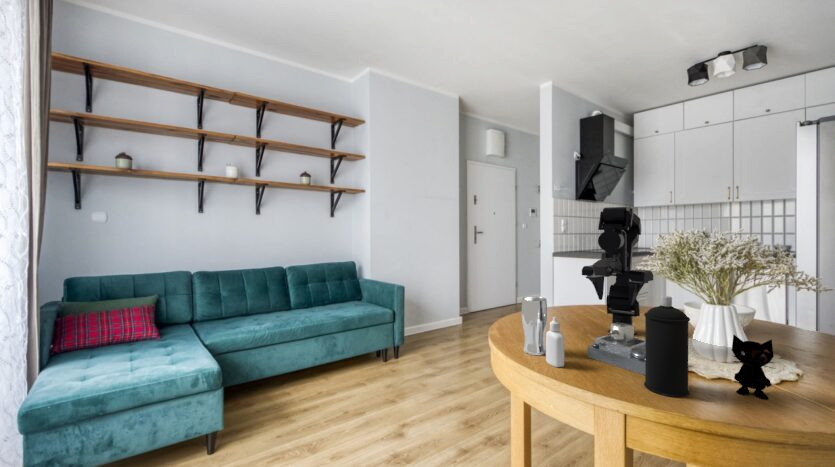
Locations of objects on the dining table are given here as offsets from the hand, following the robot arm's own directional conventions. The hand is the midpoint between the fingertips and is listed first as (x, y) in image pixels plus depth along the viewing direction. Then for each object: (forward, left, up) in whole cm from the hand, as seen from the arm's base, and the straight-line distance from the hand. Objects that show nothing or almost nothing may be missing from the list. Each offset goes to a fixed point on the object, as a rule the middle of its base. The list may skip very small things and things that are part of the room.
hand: (615, 302), depth 112 cm
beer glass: (+25, -9, -13) cm, 29 cm away
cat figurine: (+9, +34, -13) cm, 37 cm away
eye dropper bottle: (+28, 0, -13) cm, 31 cm away
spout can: (+10, +7, -9) cm, 16 cm away
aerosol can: (+21, +23, -13) cm, 34 cm away
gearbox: (+10, +10, -12) cm, 19 cm away
